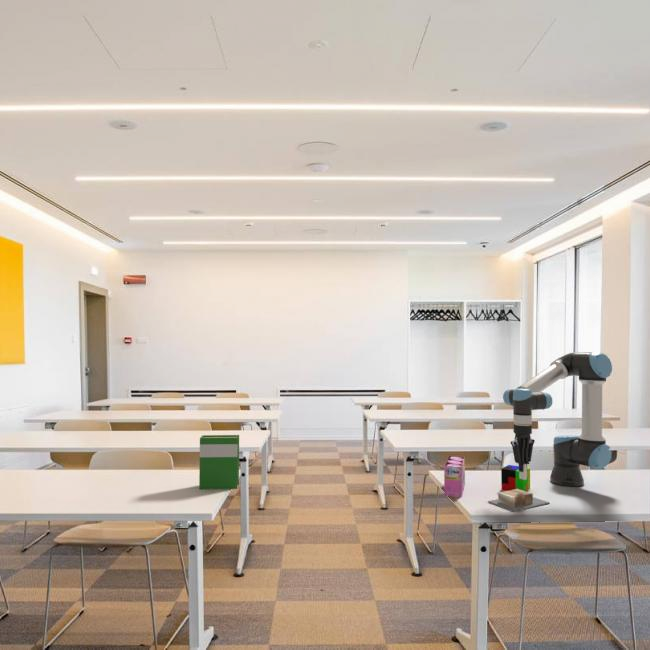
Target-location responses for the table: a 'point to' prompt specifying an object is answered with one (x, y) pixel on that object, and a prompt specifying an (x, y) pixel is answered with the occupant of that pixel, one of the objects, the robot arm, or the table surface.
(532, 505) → the mat
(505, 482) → the puzzle toy
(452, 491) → the gum box
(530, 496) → the slab
